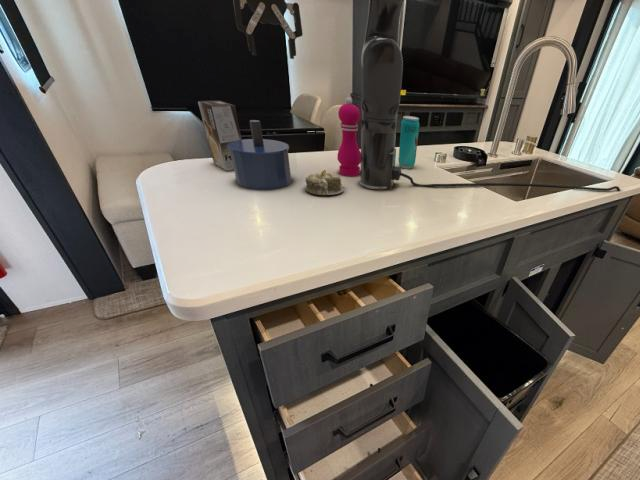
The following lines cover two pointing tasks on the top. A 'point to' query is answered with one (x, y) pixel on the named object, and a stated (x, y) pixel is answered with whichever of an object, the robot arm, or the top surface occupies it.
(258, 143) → the lid
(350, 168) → the pepper mill
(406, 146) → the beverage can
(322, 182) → the cake
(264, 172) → the tin
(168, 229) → the top surface
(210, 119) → the coffee box
